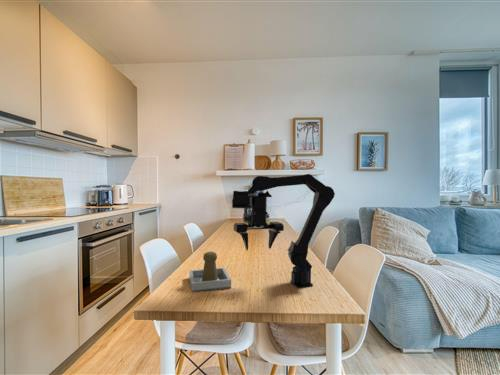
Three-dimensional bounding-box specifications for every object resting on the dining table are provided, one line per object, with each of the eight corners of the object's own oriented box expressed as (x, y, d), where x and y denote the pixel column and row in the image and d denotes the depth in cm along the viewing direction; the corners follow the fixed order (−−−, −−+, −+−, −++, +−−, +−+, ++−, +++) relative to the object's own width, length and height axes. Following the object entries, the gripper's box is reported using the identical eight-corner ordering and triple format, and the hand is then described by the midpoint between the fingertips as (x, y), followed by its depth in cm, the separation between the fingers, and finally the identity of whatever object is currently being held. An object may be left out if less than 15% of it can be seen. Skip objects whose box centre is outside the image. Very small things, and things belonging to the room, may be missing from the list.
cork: (215, 277, 99) (216, 249, 99) (219, 282, 93) (219, 253, 93) (200, 279, 97) (200, 251, 97) (203, 284, 91) (203, 255, 91)
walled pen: (223, 274, 104) (223, 267, 104) (231, 288, 90) (231, 279, 90) (189, 277, 100) (189, 270, 100) (191, 292, 86) (191, 283, 86)
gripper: (273, 206, 106) (273, 243, 106) (230, 207, 100) (230, 245, 100) (284, 209, 95) (283, 249, 95) (237, 209, 90) (236, 252, 90)
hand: (258, 249), depth 95 cm, fingers open, 9 cm apart
